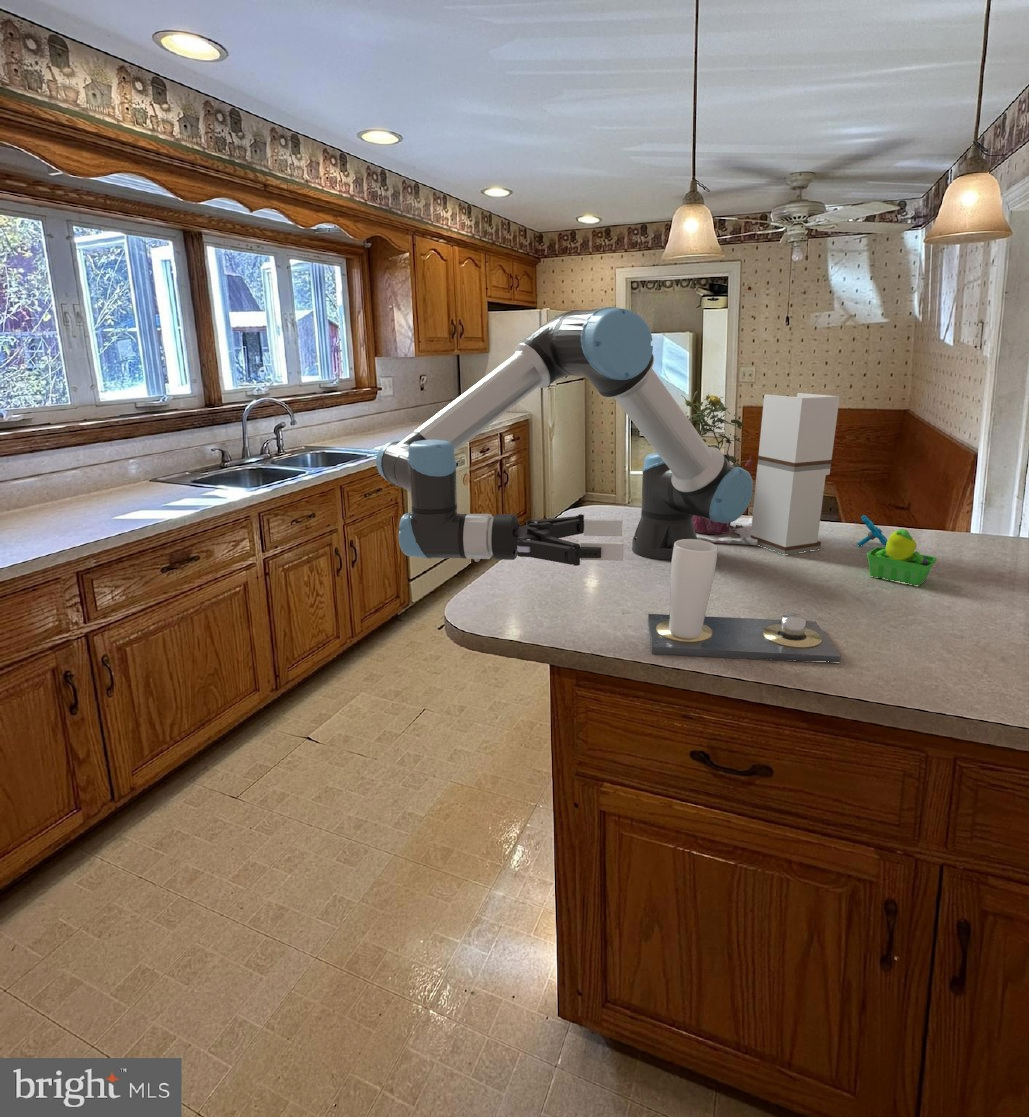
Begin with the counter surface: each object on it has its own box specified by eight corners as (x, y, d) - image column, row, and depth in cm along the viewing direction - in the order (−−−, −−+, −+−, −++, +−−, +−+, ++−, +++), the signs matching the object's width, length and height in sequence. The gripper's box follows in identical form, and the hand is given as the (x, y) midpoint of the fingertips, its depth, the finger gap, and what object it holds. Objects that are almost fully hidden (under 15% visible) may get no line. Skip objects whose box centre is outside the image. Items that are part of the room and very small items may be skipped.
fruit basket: (933, 581, 143) (943, 527, 140) (921, 592, 137) (931, 536, 134) (873, 569, 151) (881, 517, 147) (859, 579, 145) (867, 525, 141)
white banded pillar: (819, 550, 164) (839, 396, 154) (784, 555, 160) (802, 398, 150) (784, 538, 174) (800, 393, 164) (749, 543, 170) (764, 394, 160)
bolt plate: (814, 627, 120) (818, 603, 119) (839, 663, 107) (843, 636, 106) (647, 620, 124) (649, 596, 123) (651, 653, 111) (653, 627, 109)
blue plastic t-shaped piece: (895, 549, 159) (865, 514, 161) (871, 565, 162) (842, 530, 164) (895, 544, 169) (867, 511, 171) (873, 558, 171) (845, 526, 173)
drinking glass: (707, 628, 117) (719, 541, 112) (705, 645, 110) (717, 554, 106) (666, 622, 118) (675, 536, 114) (661, 638, 112) (671, 548, 108)
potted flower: (754, 520, 190) (765, 386, 179) (757, 544, 167) (769, 393, 157) (654, 515, 197) (658, 386, 187) (643, 538, 174) (648, 393, 164)
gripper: (504, 537, 130) (621, 540, 127) (480, 583, 106) (623, 587, 104) (503, 497, 128) (622, 499, 125) (479, 535, 104) (624, 538, 101)
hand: (623, 539), depth 114 cm, fingers open, 13 cm apart
